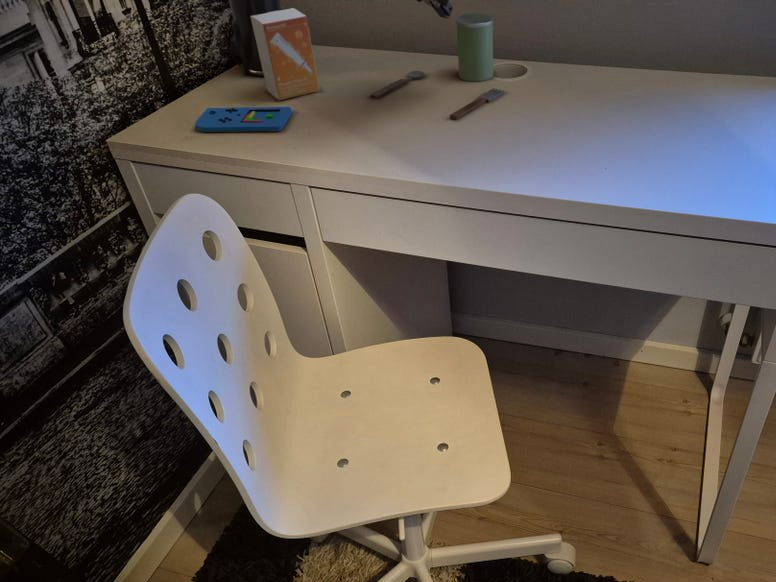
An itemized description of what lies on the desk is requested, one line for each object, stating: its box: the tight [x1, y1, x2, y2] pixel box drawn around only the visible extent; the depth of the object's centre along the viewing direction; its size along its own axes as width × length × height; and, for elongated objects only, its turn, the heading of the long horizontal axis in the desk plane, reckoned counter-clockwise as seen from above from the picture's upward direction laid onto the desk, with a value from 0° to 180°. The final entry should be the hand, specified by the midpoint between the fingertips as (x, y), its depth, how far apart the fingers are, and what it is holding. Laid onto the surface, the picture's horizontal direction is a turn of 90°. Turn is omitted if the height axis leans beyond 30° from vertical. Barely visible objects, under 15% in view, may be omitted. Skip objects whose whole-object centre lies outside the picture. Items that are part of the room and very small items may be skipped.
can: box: [455, 12, 494, 82], centre depth 124 cm, size 7×7×10 cm
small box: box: [250, 7, 320, 101], centre depth 119 cm, size 8×6×13 cm
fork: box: [449, 87, 505, 121], centre depth 116 cm, size 14×2×1 cm, turn 146°
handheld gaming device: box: [194, 106, 293, 133], centre depth 113 cm, size 8×1×15 cm
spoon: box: [369, 70, 425, 100], centre depth 124 cm, size 14×3×1 cm, turn 146°
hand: (447, 12), depth 115 cm, fingers closed
